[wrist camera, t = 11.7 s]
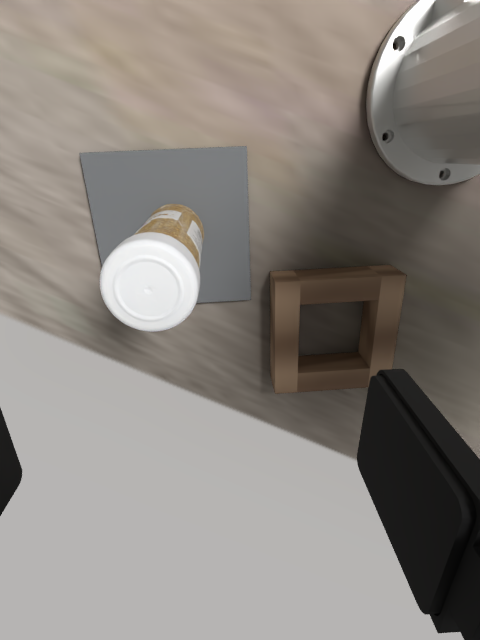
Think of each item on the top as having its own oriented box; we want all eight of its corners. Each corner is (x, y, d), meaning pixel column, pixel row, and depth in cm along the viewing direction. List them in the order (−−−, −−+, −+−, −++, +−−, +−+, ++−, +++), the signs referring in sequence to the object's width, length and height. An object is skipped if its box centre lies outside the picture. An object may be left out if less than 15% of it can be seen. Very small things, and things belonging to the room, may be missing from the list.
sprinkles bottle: (157, 193, 28) (112, 223, 15) (213, 217, 29) (213, 263, 16) (139, 249, 29) (85, 316, 17) (193, 270, 30) (179, 347, 18)
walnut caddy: (270, 271, 31) (275, 282, 29) (390, 264, 32) (406, 275, 29) (270, 375, 36) (275, 393, 33) (376, 368, 36) (389, 385, 33)
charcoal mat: (81, 152, 27) (79, 152, 26) (246, 146, 27) (246, 146, 27) (111, 305, 32) (110, 308, 31) (250, 297, 32) (250, 299, 32)
